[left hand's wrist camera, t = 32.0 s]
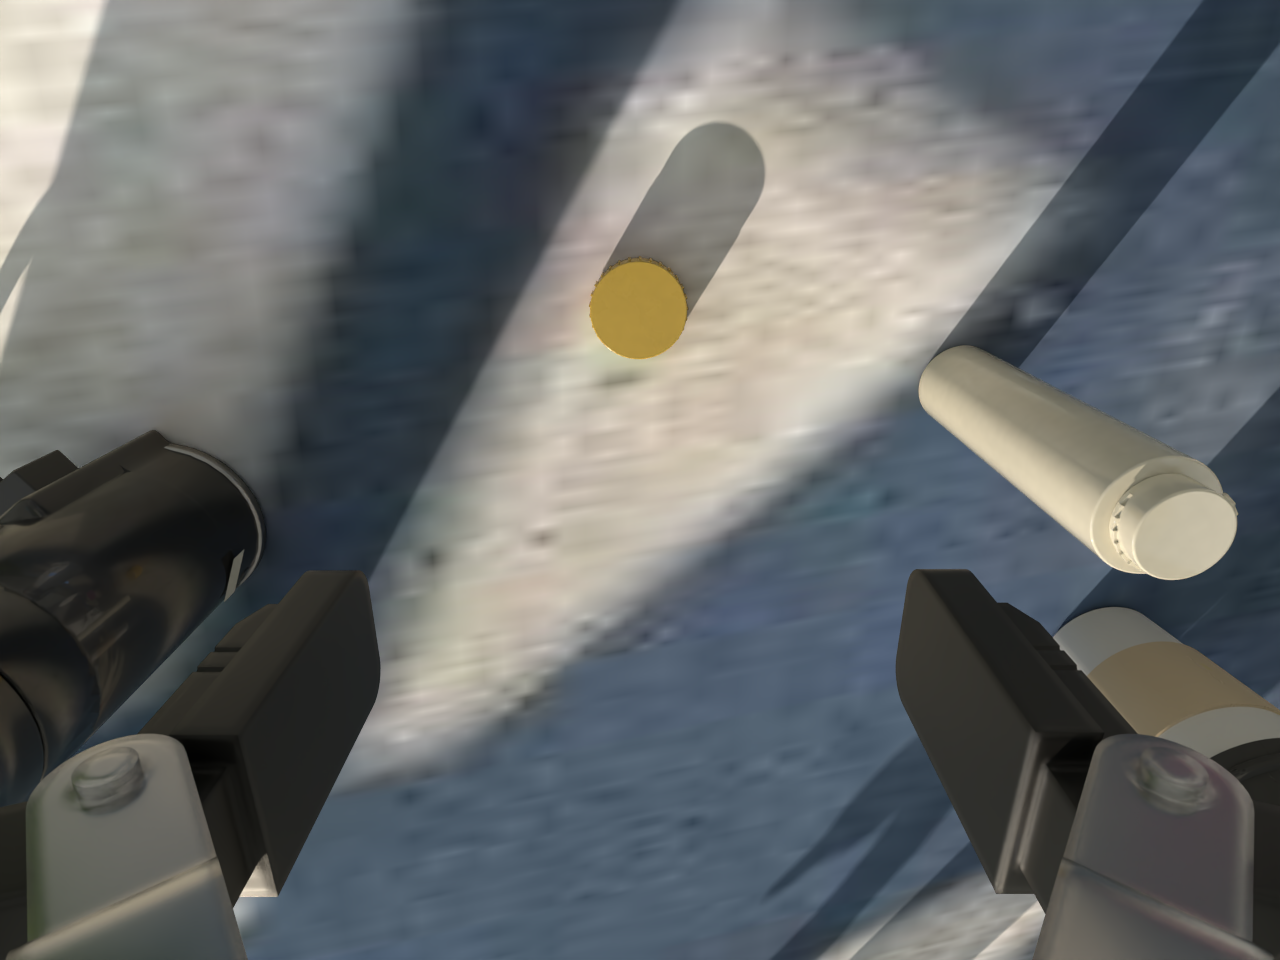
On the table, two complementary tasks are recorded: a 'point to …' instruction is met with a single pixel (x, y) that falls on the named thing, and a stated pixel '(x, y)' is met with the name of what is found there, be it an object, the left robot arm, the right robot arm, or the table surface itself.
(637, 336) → the lid
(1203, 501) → the beige long cylinder
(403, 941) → the table surface
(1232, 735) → the coffee cup
